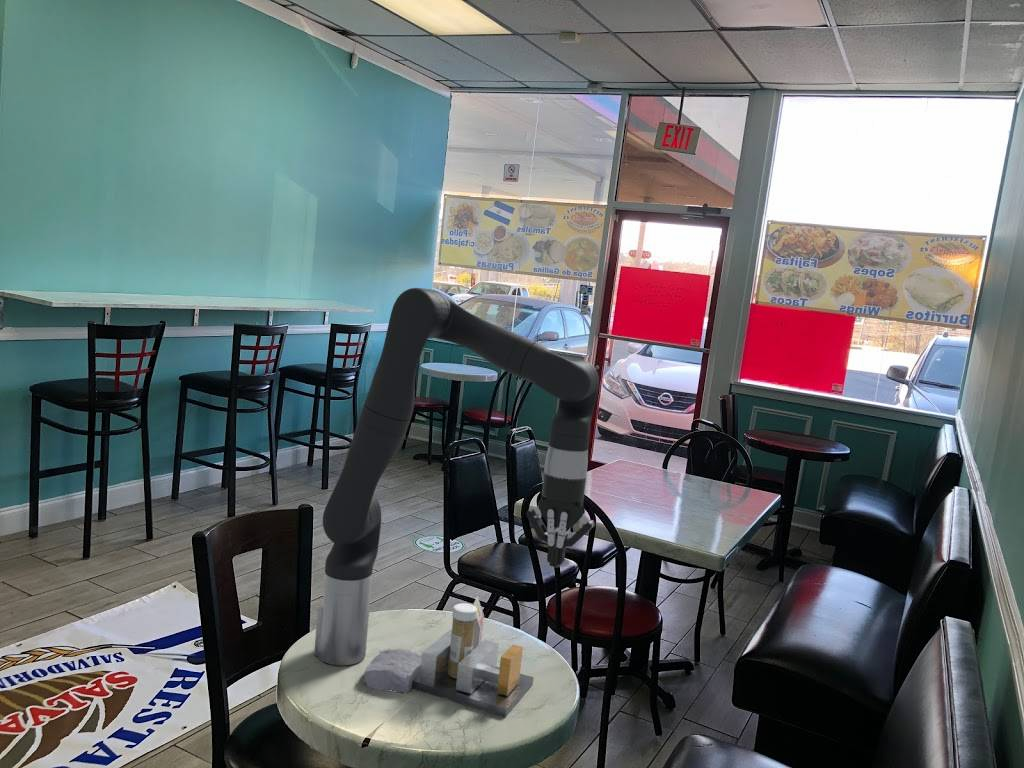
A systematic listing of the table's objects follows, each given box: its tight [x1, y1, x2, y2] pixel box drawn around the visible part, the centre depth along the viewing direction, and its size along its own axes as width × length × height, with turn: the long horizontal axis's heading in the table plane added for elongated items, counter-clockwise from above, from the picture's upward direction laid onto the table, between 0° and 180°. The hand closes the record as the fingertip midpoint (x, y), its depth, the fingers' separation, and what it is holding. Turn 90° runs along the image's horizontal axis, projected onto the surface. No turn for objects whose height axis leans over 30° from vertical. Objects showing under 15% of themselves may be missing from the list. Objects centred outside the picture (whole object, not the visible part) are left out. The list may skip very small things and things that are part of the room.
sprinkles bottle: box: [448, 603, 477, 679], centre depth 155 cm, size 5×5×13 cm
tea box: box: [472, 596, 485, 650], centre depth 171 cm, size 4×7×10 cm, turn 175°
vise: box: [411, 629, 534, 718], centre depth 154 cm, size 19×14×7 cm
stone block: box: [363, 648, 422, 694], centre depth 155 cm, size 12×5×10 cm
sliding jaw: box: [456, 639, 523, 696], centre depth 153 cm, size 9×12×7 cm
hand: (554, 565), depth 147 cm, fingers closed
